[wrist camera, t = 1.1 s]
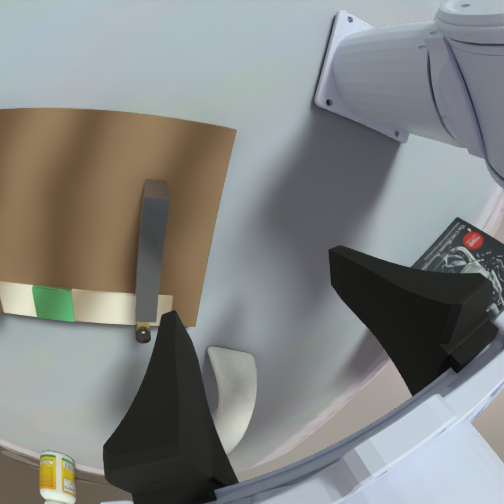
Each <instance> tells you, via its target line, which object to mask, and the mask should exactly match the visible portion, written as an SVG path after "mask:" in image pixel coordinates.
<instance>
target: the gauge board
mask: <svg viewBox="0 0 504 504" xmlns="http://www.w3.org/2000/svg"><path fill="white" fill-rule="evenodd" d="M236 131H237V130H235V129H231V128H227V127H222V126H217V125H211V124H206V123H200V122H195V121H189V120H183V119H176V118H169V117H162V116H155V115H147V114H138V113H129V112H119V111H107V110H92V109H72V108H17V109H0V312H4V313H11V314H18V315H26V316H34V317H37V318H43V319H51V320H61V321H71V322H75V321H82V322H94V323H108V324H125V325H136V323H137V322H135V277H136V261H137V248H138V237H139V227H140V217H141V209H142V201H143V193H144V186H145V179H152V180H161V181H167V185H168V190H169V194H170V198H171V201H170V208H169V214H168V221H167V228H166V235H165V242H164V250H163V258H162V267H161V276H160V286H159V296H158V307H157V320H156V323H154V322H150V326H159V324H160V319H161V316H162V314H165V313H167V312H170V311H173V310H176V312H177V314H178V316H179V318H180V320H181V321H182V323H183V325H184V326H186V327H195V326H196V320H197V314H198V309H199V303H200V298H201V293H202V287H203V282H204V277H205V272H206V266H207V261H208V256H209V251H210V246H211V242H212V237H213V232H214V227H215V222H216V218H217V213H218V209H219V204H220V199H221V195H222V190H223V186H224V182H225V177H226V173H227V169H228V164H229V160H230V156H231V152H232V148H233V143H234V139H235V135H236Z"/></svg>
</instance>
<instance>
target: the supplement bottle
mask: <svg viewBox="0 0 504 504" xmlns="http://www.w3.org/2000/svg"><path fill="white" fill-rule="evenodd" d="M40 493H41V495H42V496H43V497H44V498H45V499H46V501H45V503H44V504H74V503H75V501H76V495H75V477H74V462H73V460H72V459H71V458H70V457H68V456H66V455H64V454H62V453H58V452H54V451H44V452H42V453H41V457H40Z"/></svg>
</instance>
